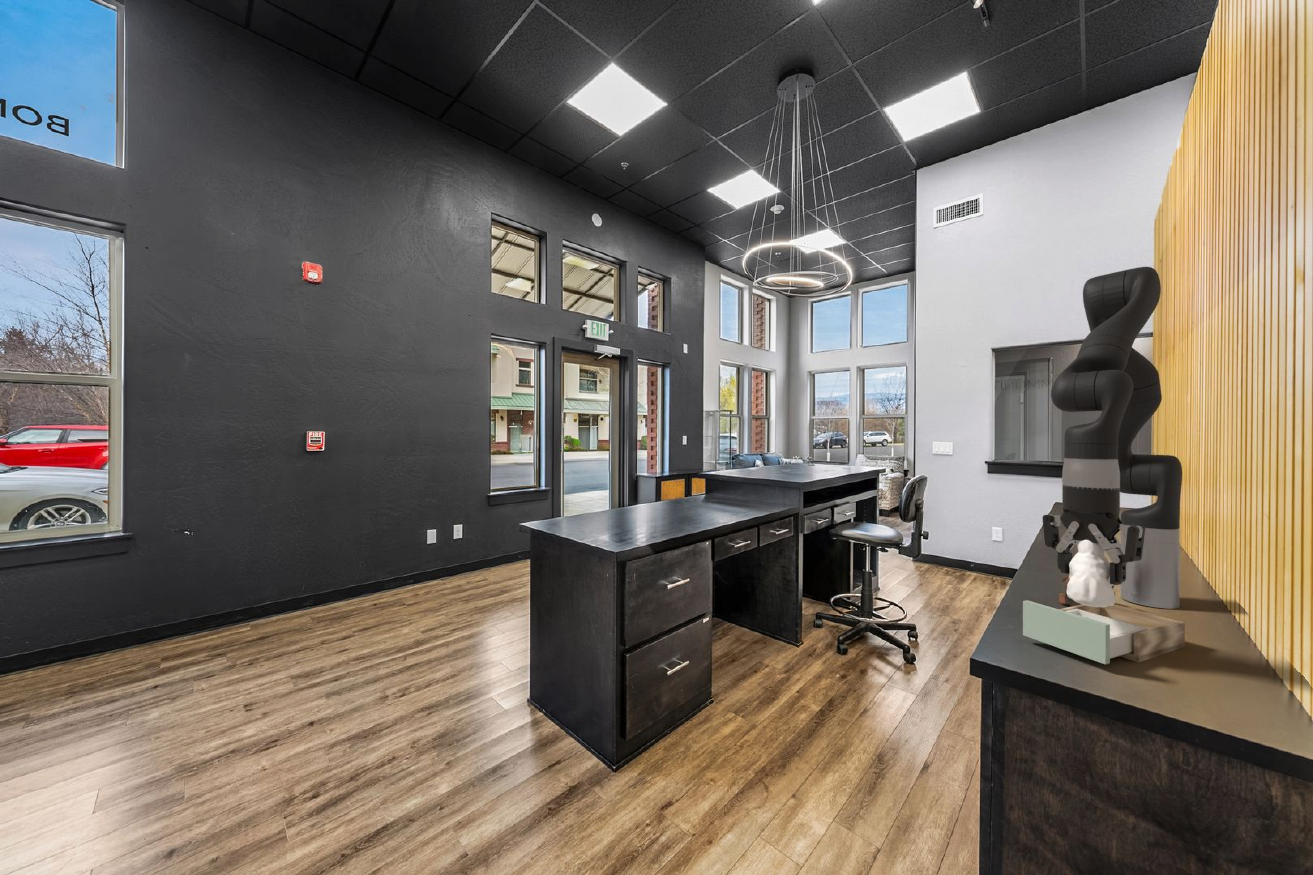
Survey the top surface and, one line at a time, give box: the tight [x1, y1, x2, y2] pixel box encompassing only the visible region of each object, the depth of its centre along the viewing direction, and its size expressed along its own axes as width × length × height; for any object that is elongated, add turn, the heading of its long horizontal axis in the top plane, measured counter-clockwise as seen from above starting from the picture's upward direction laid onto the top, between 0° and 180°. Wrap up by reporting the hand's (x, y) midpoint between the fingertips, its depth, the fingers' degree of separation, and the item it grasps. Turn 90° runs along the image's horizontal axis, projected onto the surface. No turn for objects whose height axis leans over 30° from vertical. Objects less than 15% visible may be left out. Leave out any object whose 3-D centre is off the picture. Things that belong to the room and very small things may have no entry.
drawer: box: [1022, 599, 1147, 665], centre depth 83 cm, size 14×12×6 cm
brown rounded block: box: [1058, 575, 1116, 607], centre depth 103 cm, size 12×9×8 cm
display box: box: [1058, 604, 1186, 664], centre depth 87 cm, size 15×12×4 cm
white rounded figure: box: [1066, 540, 1116, 607], centre depth 83 cm, size 6×8×12 cm
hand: (1090, 578), depth 84 cm, fingers closed on white rounded figure, 6 cm apart
